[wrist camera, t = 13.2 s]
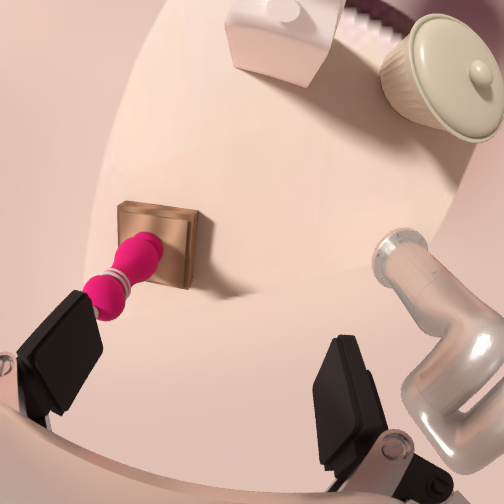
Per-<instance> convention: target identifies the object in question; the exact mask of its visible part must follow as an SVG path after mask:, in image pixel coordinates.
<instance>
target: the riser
mask: <svg viewBox="0 0 504 504" xmlns="http://www.w3.org/2000/svg"><path fill="white" fill-rule="evenodd" d="M197 218H198V211H197V210H190V209H184V208H177V207H170V206H163V205H155V204H148V203H141V202H133V201H124V202H123V203H121V204H119V205H118V206H117V221H118V247H119V246H120V245H121V243H122V242H123V241H125V240H126V239H128V238H131V237H133V236H134V235H136V234H137V233H139V232H150V233H152V234H154V235H155V236H156V237H157V238H158V239H159V240H160V242H161V244H162V246H163V255H162V258H161V260H160V261H159V262H158V267H157V270H156V271H155V273H154V274H153V275H152V276H151V277H150V278H149V279H147V280H145V281H146V282H151V283H156V284H161V285H166V286H171V287H176V288H181V289H186V290H188V289H189V287H190V285H191V282H192V278H193V264H194V251H195V239H196V228H197Z"/></svg>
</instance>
